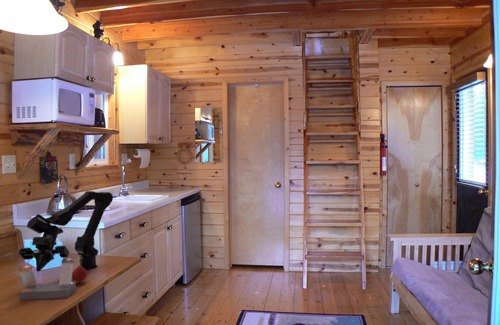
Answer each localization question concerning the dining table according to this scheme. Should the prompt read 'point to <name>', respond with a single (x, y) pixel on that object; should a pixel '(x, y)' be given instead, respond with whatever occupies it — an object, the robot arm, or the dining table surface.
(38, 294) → the switch box
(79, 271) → the onion
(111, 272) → the dining table surface
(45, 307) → the dining table surface
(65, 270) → the grey lever
